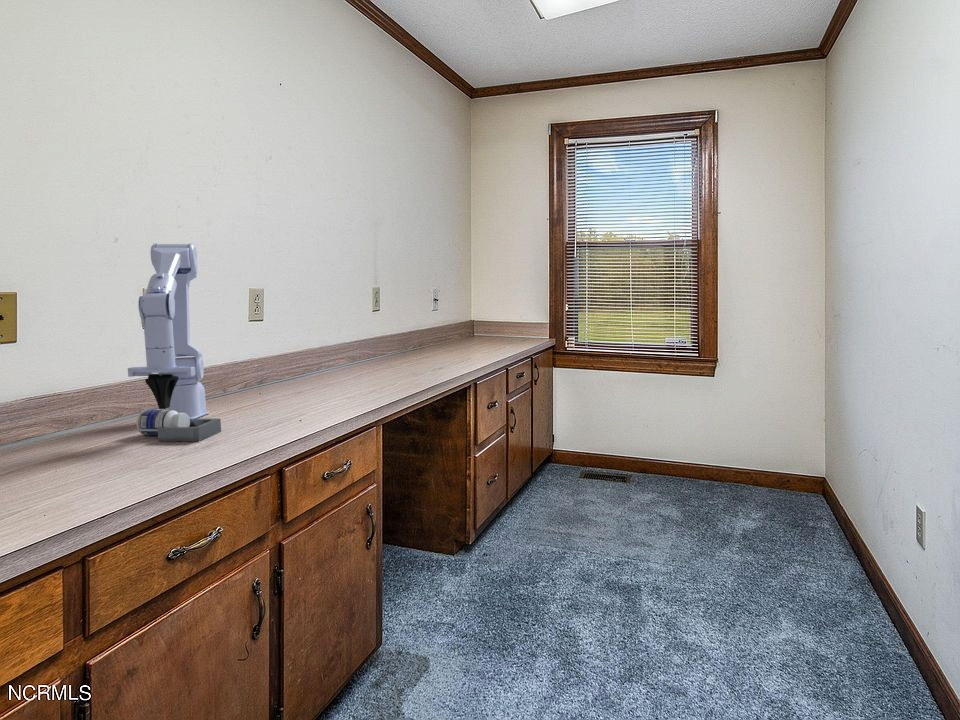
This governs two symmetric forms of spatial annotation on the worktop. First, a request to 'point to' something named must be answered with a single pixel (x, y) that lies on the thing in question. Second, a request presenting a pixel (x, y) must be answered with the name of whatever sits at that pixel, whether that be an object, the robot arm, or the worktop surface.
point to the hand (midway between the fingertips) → (164, 408)
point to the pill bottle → (160, 420)
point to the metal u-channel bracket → (191, 431)
